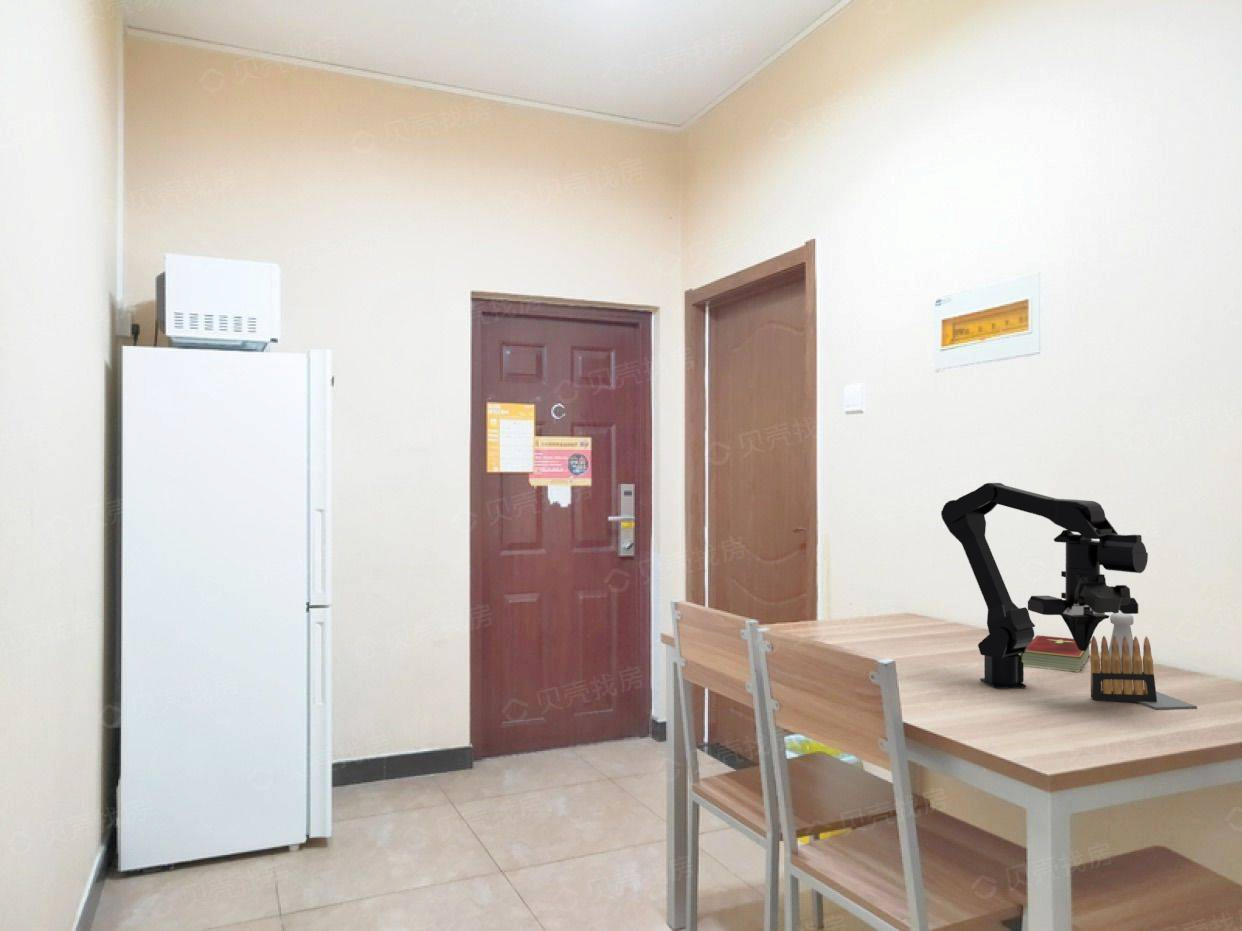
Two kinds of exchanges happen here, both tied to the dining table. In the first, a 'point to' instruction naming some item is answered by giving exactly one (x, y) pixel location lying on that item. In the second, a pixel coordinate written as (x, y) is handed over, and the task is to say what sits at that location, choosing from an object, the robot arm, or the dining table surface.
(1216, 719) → the dining table surface
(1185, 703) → the mat
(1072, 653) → the hardcover book
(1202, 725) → the dining table surface
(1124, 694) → the ammunition clip
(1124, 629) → the salt shaker
